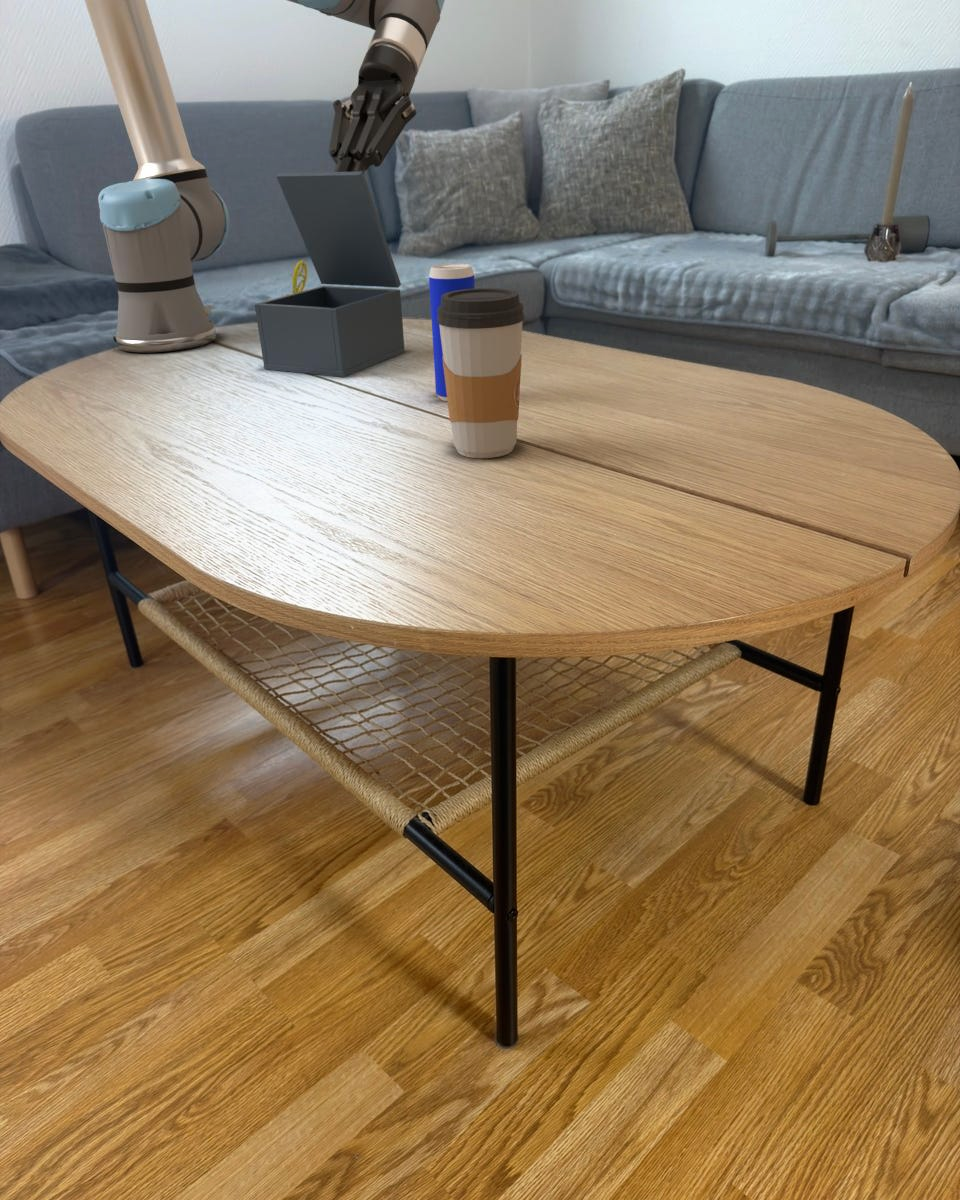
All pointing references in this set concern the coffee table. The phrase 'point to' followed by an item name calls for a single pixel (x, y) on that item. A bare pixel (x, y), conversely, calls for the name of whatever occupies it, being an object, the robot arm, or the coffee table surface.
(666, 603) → the coffee table surface
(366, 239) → the lid
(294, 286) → the yellow spoked ring
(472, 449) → the coffee cup
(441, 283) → the beverage can
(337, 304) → the chest
